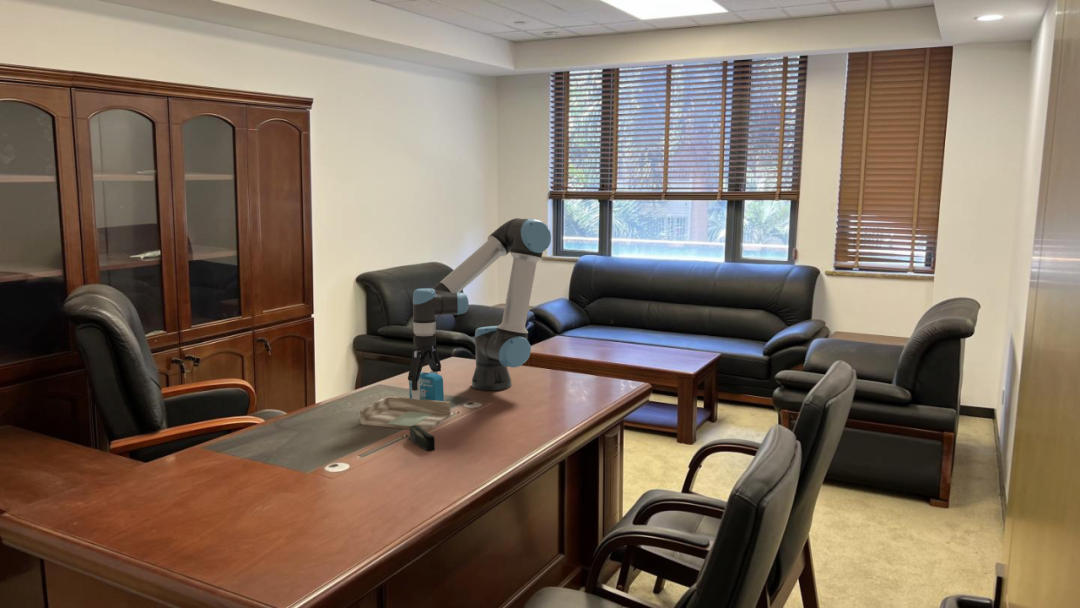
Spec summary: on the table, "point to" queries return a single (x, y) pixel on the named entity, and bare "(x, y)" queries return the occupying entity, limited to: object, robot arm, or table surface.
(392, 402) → the tray
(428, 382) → the data package
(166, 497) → the table surface
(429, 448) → the mobile phone
